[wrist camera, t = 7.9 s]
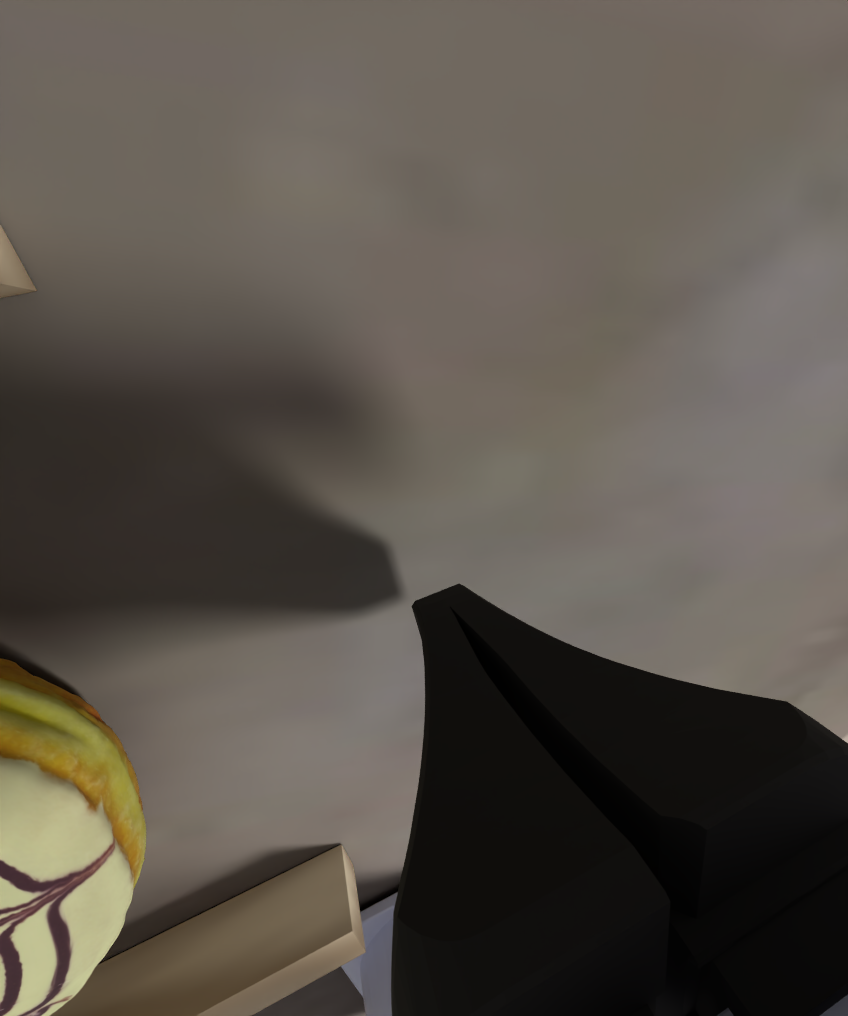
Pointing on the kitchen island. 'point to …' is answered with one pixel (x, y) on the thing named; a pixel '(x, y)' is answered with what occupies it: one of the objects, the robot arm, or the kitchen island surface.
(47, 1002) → the decorated donut
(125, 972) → the wooden bar frame
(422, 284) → the kitchen island surface
